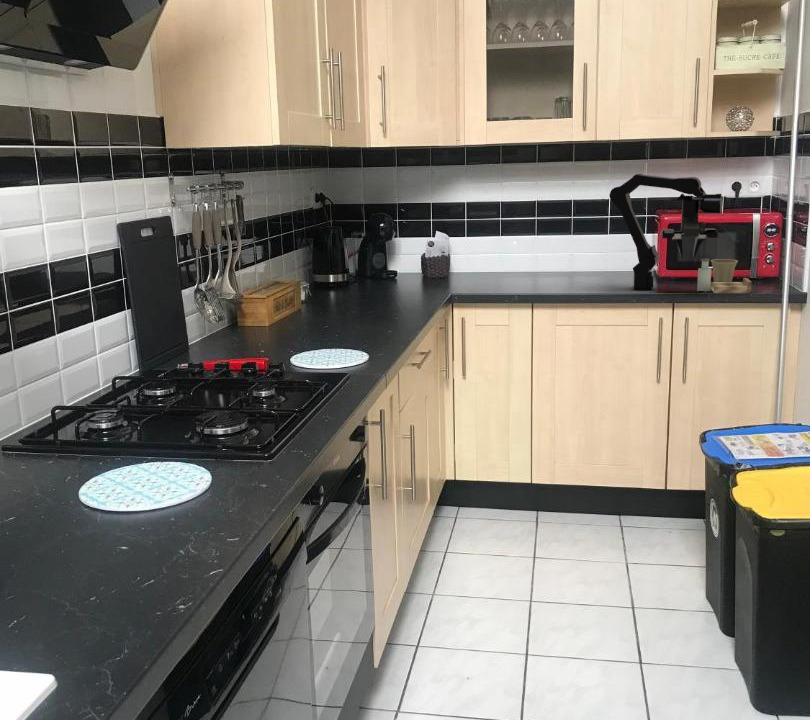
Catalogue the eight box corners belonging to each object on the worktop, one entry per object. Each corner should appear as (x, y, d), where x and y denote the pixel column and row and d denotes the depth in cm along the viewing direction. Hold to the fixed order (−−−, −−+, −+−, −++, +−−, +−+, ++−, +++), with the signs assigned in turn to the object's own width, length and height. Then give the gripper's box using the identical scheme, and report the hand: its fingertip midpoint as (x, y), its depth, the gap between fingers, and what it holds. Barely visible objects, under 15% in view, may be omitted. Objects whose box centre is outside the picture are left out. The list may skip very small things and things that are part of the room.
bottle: (697, 292, 299) (699, 259, 296) (696, 289, 303) (698, 258, 300) (710, 292, 298) (712, 259, 295) (709, 289, 302) (711, 258, 299)
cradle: (714, 293, 296) (714, 281, 295) (710, 288, 304) (711, 277, 303) (750, 293, 293) (751, 281, 292) (746, 288, 301) (746, 277, 300)
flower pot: (732, 281, 318) (733, 258, 316) (739, 285, 309) (741, 262, 306) (706, 281, 319) (708, 259, 316) (713, 285, 310) (714, 262, 307)
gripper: (664, 215, 289) (662, 261, 293) (721, 215, 285) (719, 260, 289) (661, 213, 299) (659, 256, 303) (716, 212, 296) (714, 256, 300)
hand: (687, 257), depth 298 cm, fingers open, 4 cm apart
